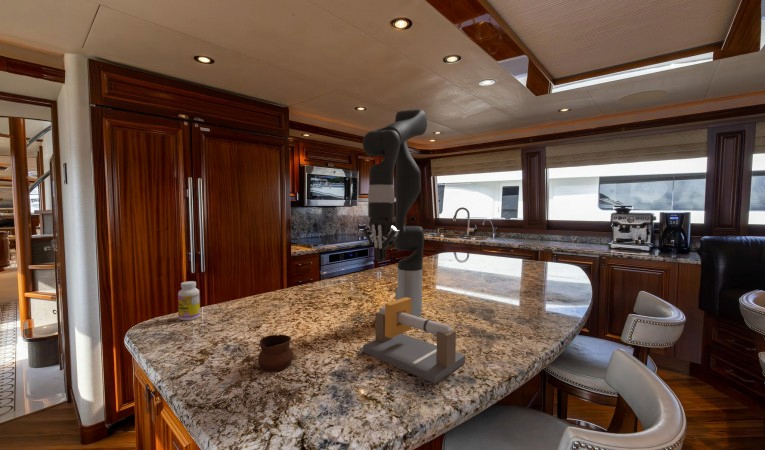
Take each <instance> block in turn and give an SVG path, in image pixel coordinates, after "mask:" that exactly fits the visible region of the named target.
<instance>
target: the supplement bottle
mask: <svg viewBox="0 0 765 450" xmlns="http://www.w3.org/2000/svg"><path fill="white" fill-rule="evenodd" d="M180 288H181V289H180V290H178V292H177V302H178V303H177V307H178V308H177V309H178V311H177V312H178V313H177V314H178V319H179V320H180V321H191V320H195V319H198V318H199V317H200V316H201V315H200V314H201V308H200V305H201V304H200V303H201V301H200V300H201V299H200V289H198V288H197V282H196V280H195V281H194V280H192V281H191V280H189V281H183V282H181V283H180Z"/></svg>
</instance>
